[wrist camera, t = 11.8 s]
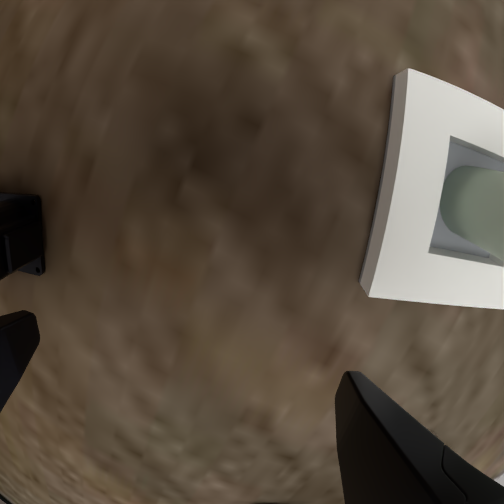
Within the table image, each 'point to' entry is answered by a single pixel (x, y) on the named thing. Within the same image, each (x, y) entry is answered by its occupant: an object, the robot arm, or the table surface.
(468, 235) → the green post
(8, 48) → the table surface
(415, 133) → the socket block
